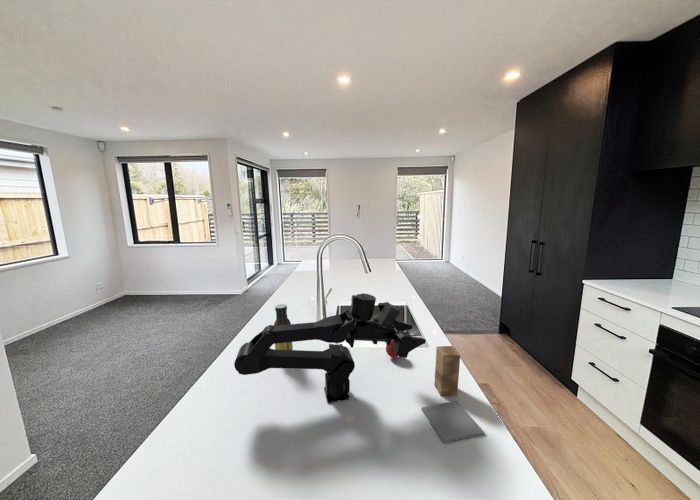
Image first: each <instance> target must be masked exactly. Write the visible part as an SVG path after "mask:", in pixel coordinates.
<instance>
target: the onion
mask: <svg viewBox="0 0 700 500" xmlns="http://www.w3.org/2000/svg"><path fill="white" fill-rule="evenodd" d="M393 343H394V340H392V341H391V344H390V345H387V344H386V345H385V352H386V354H387V355H388V356H389V357H390V358H392V359H396V358H397V357H398V358H399V356H398V355H397V354H396V352H395V351H394V349H393Z"/></svg>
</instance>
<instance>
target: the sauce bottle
mask: <svg viewBox="0 0 700 500" xmlns="http://www.w3.org/2000/svg"><path fill="white" fill-rule="evenodd" d="M274 307H275V308H274V309H275V315H276V316H275V318H276V319H275V321H274V323H273V326H277V325H289V324H292V323H291V321H290V319H289V318H288V313H287V311H288V306H287V304H285V303H280V304H277V305H276V306H274ZM293 347H294V346H293V342H287V343H277V344H274V349H275V350H294V348H293Z"/></svg>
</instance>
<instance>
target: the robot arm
mask: <svg viewBox="0 0 700 500" xmlns="http://www.w3.org/2000/svg"><path fill="white" fill-rule="evenodd" d="M376 300H377V298H376V297H375V296H374V295H372V294H369V293H358V294H356V295H355V294H353V295H351V303H350V309H346V310H344V311H343V312H341V313H340V314H337V315H336V314H335V315H334V314H333V315H331V316H330V315H329V316H327V317H324V318H322V319H319V320H318V321H314V322H304V323H303V322H302V323H301V322H300V323H291V324H289V325H277V326H274V324H269V325H267V326H265V327H264V328H263V329H262V331H260V332H259V333H258V334H256V335H255V336H254V337H253V338H252V339H251V340H250V341H248V342H245V343H244V344H242V345H241V346H240V348H239V350H238V352H237V355H236V357H235V360H234V364H233V365H234V369H235V370H236V371H237V373H238V374H240V375H242V376H247V375H255V374H260V373H262V372H264V371H267V370H269V369H287V370H288V369H289V370H294V369H297V370H322V371H325V373H324V379H325V380H324V383H325V384H324V387H323V391H324V394H325V398H326V402H327V404H330V403H335V402H343V401H347V400H348V401H349V400H350V396H349V395H350V394H349V393H350V392H351V391H350V390H351V389H350V384H351V381H350V378H349V377H350V375H351V374H352V373H353V372H354V370H355V367H356V365H355V364H356V363H355V362H354V358H353V356H352V353H351V351H350V349H349V348H348V347H347V346H346V345H345V346H344V345H343V344H342V343H344V342H346V343H347V344H348V345H349V346H350V348H351V349H352V348H353V347H354V344H355V341H362V342H372V343H373V345H378V342H382V343H385V344H386V345H390V344H391V341H392V340H394V343H393V349H394V351H395V352H396V354H397V355H398V358H400V359H407V358H408V355H409V353H410V352H411V351H413V350H415V349H417V348H419V347H421V346H423V345H424V344H426V341H427V339H426V338H423V337H417V336H412V335H411V334H410V333H409V332H408V331H409V330H410V331H411V330H412V329H413V325H412V324H410V323H407V322H404V321H401V320H399V319H397V317H398V316H399V315H400V312H401V311H400V309H399V308H398V307H397V306H395V305H393V304H391V303H390V302H388V301H385V302H378V304H377V306H376V308H377V309H378V310H379V312H378V314H379V315H378V316H377V317H374V316H373V315H374V311H375V305H376V302H377V301H376ZM314 340H315V341H322V342H324V343H325V342H326V343H329V344H328V348H327V349H324V350H300V349H299V350H298V349H293V350H275V348H274V349H273V348H271V347H272V346H273V345H275V344H277V343H287V342H292V343H294V342H296V343H298V342H303V341H304V342H306V341H314Z"/></svg>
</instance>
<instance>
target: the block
mask: <svg viewBox="0 0 700 500" xmlns="http://www.w3.org/2000/svg"><path fill="white" fill-rule="evenodd" d="M435 350H436V351H435V352H436V354H435V369H434V383H433V385H434V387H435V389H436V390H437V392H438V394H439V396H440V397H451V396H452V397H455V396H458V392H459V391H458V389H459V376H460V366H461V365H460V364H461V363H460V362H461V354H460V352H458V350H457V349H456V348H455V346H453V345H440V346H439V345H438V346H436V349H435Z"/></svg>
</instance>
